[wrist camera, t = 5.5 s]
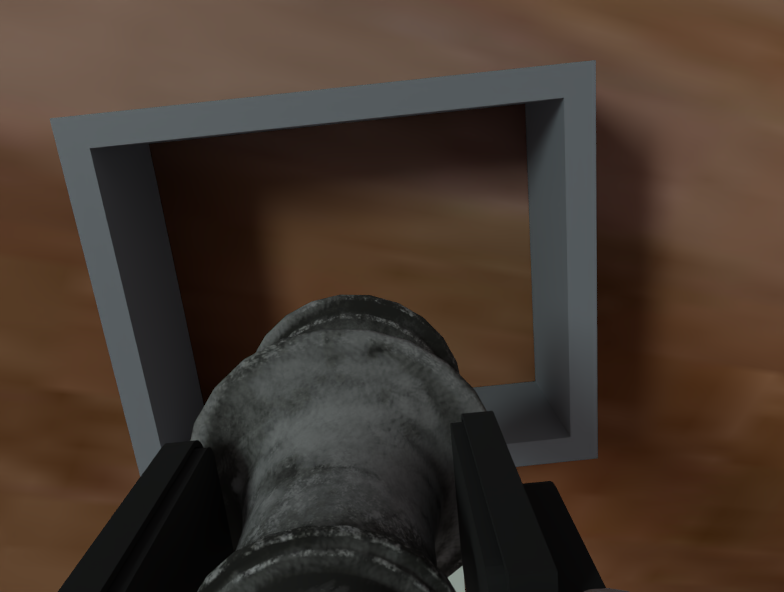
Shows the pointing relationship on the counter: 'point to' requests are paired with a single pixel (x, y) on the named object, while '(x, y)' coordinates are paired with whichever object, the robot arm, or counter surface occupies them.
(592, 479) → the counter surface
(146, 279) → the crate
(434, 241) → the counter surface
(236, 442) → the stone chess piece
